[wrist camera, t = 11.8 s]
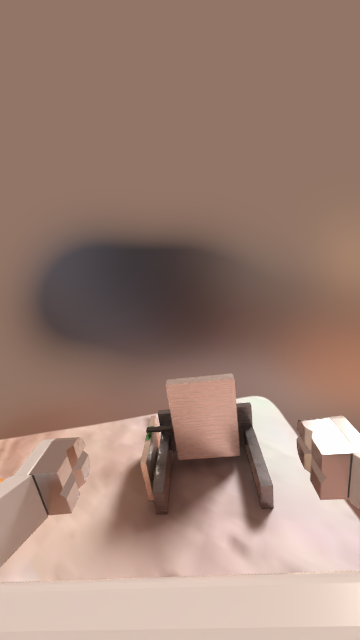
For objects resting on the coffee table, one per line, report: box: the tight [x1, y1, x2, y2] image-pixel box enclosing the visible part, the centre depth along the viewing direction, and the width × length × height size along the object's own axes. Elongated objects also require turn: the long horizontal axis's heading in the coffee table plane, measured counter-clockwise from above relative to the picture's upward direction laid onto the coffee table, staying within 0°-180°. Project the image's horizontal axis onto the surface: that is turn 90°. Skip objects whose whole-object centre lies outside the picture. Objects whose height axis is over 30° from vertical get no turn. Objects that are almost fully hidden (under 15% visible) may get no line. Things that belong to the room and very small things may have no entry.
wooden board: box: [146, 374, 240, 460], centre depth 38 cm, size 14×2×14 cm, turn 88°
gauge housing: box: [140, 403, 274, 514], centre depth 38 cm, size 18×12×8 cm
